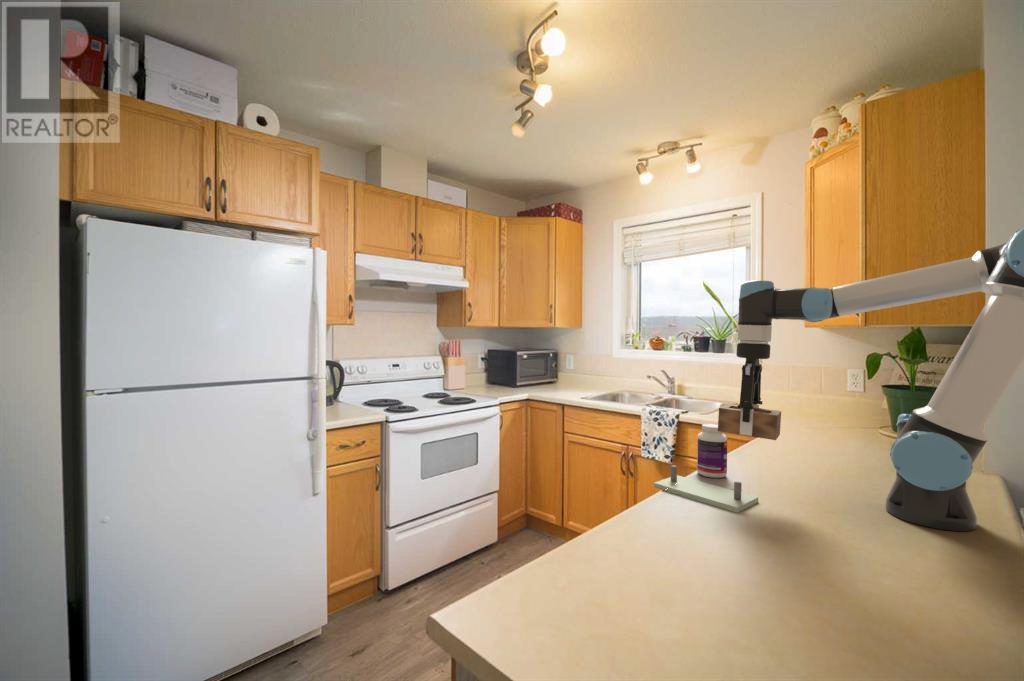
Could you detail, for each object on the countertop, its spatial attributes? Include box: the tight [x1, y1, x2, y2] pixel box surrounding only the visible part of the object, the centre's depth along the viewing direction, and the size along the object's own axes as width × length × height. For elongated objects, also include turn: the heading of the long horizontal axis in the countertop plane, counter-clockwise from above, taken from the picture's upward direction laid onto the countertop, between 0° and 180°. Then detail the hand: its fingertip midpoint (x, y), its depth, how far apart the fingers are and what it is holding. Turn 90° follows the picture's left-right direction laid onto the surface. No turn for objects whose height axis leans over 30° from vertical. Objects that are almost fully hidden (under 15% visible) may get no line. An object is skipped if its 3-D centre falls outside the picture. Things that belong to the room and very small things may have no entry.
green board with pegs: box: [653, 465, 759, 514], centre depth 117 cm, size 22×11×5 cm, turn 39°
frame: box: [717, 403, 782, 441], centre depth 117 cm, size 13×8×6 cm, turn 54°
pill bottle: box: [696, 423, 728, 479], centre depth 133 cm, size 8×8×14 cm
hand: (748, 431), depth 117 cm, fingers closed on frame, 8 cm apart
